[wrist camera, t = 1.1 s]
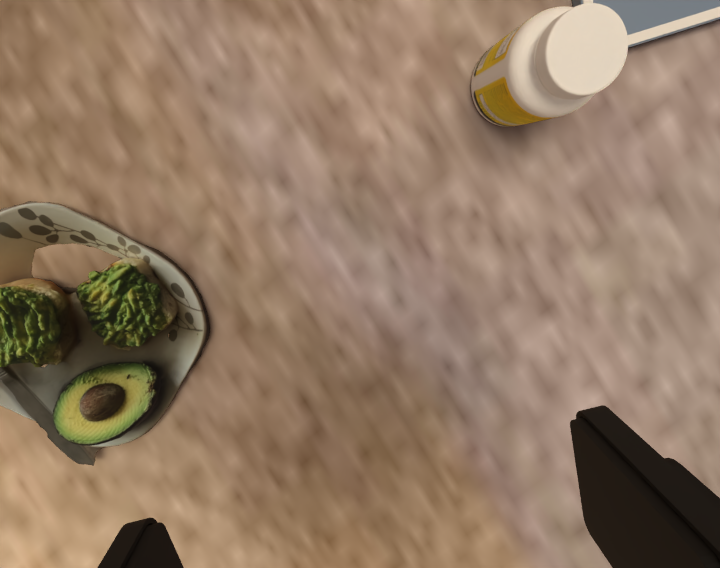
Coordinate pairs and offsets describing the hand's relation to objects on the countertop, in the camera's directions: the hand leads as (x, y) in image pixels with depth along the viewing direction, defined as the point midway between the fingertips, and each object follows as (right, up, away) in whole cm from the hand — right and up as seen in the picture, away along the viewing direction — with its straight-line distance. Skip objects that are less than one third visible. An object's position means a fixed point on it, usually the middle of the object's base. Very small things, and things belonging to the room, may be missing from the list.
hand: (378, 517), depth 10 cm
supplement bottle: (+10, +19, +21) cm, 29 cm away
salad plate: (-21, +2, +24) cm, 32 cm away
